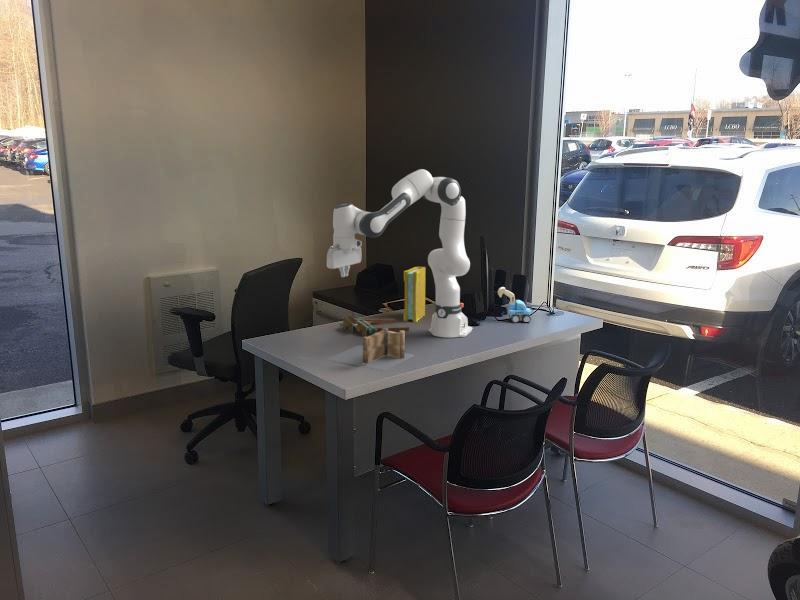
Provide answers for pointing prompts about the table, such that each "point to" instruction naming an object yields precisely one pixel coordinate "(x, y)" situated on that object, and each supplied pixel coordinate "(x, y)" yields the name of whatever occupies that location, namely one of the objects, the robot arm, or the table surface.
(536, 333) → the table surface
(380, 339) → the fence leaf
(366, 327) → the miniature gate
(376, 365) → the board
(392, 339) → the fixed fence
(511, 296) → the toy excavator
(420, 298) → the book
